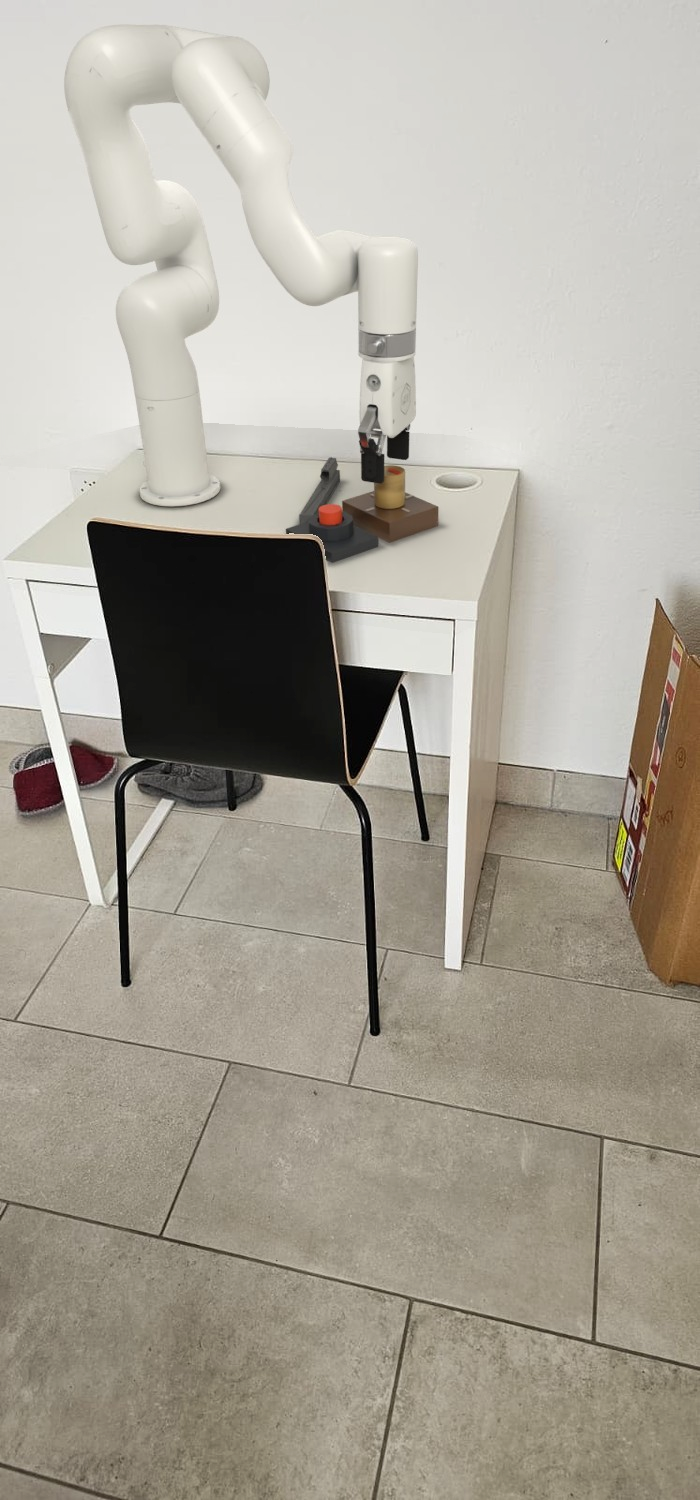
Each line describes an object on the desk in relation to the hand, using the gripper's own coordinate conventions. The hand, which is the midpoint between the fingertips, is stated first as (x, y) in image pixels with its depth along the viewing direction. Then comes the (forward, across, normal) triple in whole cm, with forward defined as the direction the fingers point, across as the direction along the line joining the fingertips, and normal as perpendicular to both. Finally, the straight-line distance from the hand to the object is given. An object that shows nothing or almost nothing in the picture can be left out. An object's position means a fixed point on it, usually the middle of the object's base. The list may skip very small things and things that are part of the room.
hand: (385, 469), depth 143 cm
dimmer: (+8, 0, -1) cm, 8 cm away
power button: (+5, -9, +5) cm, 11 cm away
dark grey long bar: (+8, +4, +12) cm, 15 cm away
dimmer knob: (+5, 0, -1) cm, 5 cm away
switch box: (+8, -9, +4) cm, 13 cm away
